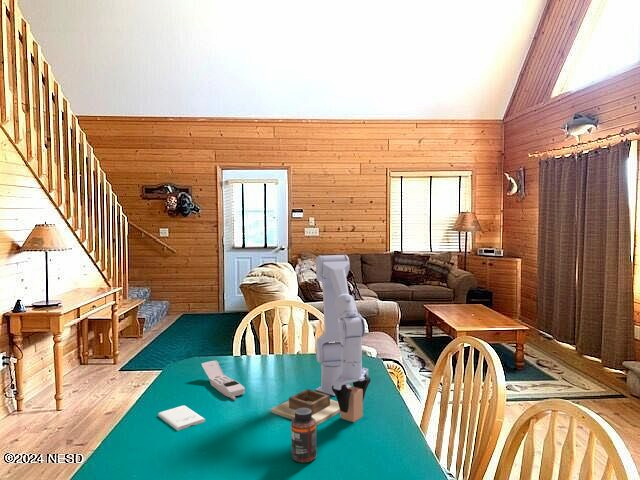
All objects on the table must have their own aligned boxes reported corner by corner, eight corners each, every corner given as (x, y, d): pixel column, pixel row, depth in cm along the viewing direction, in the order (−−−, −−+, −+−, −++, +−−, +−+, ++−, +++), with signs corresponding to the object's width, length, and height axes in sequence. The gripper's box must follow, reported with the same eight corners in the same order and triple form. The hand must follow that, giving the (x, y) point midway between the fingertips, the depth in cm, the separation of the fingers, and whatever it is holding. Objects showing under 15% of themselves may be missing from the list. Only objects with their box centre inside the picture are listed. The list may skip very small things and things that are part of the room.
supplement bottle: (316, 450, 118) (316, 405, 117) (317, 463, 112) (316, 416, 111) (291, 451, 118) (291, 405, 117) (291, 464, 112) (290, 416, 111)
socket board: (306, 395, 153) (306, 382, 152) (347, 407, 143) (347, 394, 143) (270, 412, 140) (270, 398, 140) (313, 427, 130) (313, 412, 130)
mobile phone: (216, 359, 171) (248, 379, 151) (216, 375, 172) (249, 397, 152) (199, 363, 168) (231, 383, 148) (200, 379, 168) (231, 402, 148)
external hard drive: (185, 410, 144) (205, 423, 134) (158, 418, 138) (177, 432, 129) (184, 404, 144) (205, 417, 134) (158, 412, 138) (177, 426, 129)
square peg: (349, 412, 140) (349, 385, 139) (362, 416, 137) (362, 389, 136) (340, 417, 136) (340, 390, 136) (353, 422, 133) (353, 393, 133)
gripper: (348, 369, 127) (348, 419, 128) (377, 355, 139) (377, 402, 140) (327, 364, 132) (327, 412, 133) (356, 351, 143) (357, 396, 144)
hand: (351, 407), depth 136 cm, fingers open, 7 cm apart
